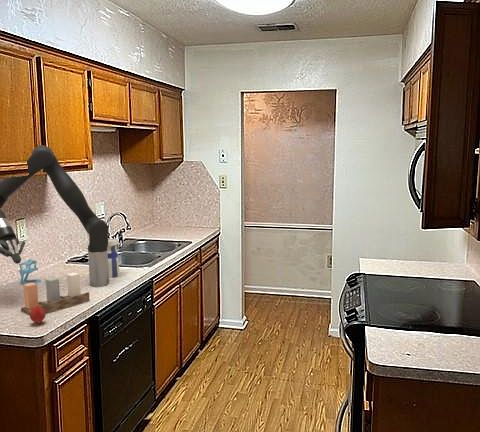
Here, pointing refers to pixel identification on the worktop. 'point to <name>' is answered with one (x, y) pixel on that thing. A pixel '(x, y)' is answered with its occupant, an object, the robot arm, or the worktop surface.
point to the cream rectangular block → (73, 284)
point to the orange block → (30, 295)
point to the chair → (28, 271)
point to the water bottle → (113, 258)
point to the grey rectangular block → (52, 289)
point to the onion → (37, 314)
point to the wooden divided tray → (60, 303)
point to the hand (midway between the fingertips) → (18, 262)
